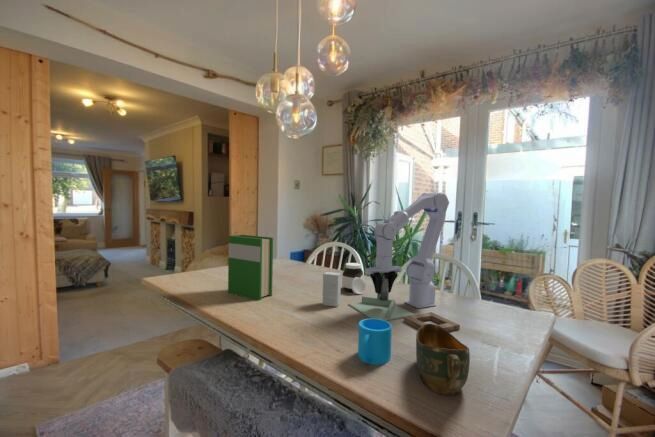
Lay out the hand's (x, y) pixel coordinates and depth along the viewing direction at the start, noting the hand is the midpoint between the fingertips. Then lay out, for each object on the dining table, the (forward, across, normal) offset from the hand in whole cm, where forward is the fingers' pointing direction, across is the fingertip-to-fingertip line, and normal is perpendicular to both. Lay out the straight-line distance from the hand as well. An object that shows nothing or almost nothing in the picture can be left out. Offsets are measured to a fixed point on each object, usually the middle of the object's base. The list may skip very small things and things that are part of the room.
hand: (382, 292), depth 111 cm
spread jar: (+7, -3, -25) cm, 26 cm away
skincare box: (+7, +15, -12) cm, 20 cm away
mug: (+7, +24, +29) cm, 38 cm away
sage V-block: (+6, +1, 0) cm, 6 cm away
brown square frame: (+6, -6, +18) cm, 20 cm away
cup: (+7, +15, +42) cm, 45 cm away
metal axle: (+2, 0, 0) cm, 2 cm away
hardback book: (+7, +41, -36) cm, 55 cm away
